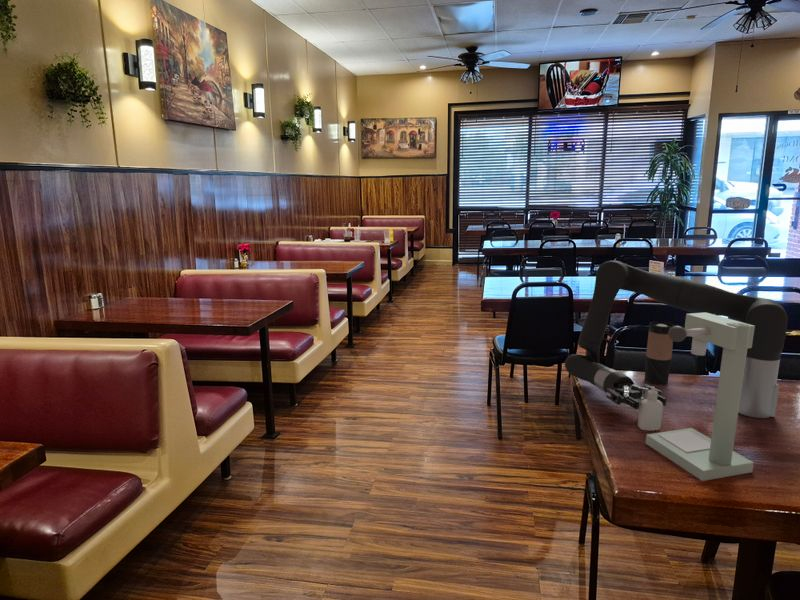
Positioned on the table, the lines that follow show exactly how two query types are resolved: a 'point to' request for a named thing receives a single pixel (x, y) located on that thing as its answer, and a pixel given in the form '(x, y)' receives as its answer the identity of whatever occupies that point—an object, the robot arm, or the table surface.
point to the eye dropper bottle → (650, 412)
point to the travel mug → (658, 353)
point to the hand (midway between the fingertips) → (651, 404)
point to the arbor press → (692, 446)
